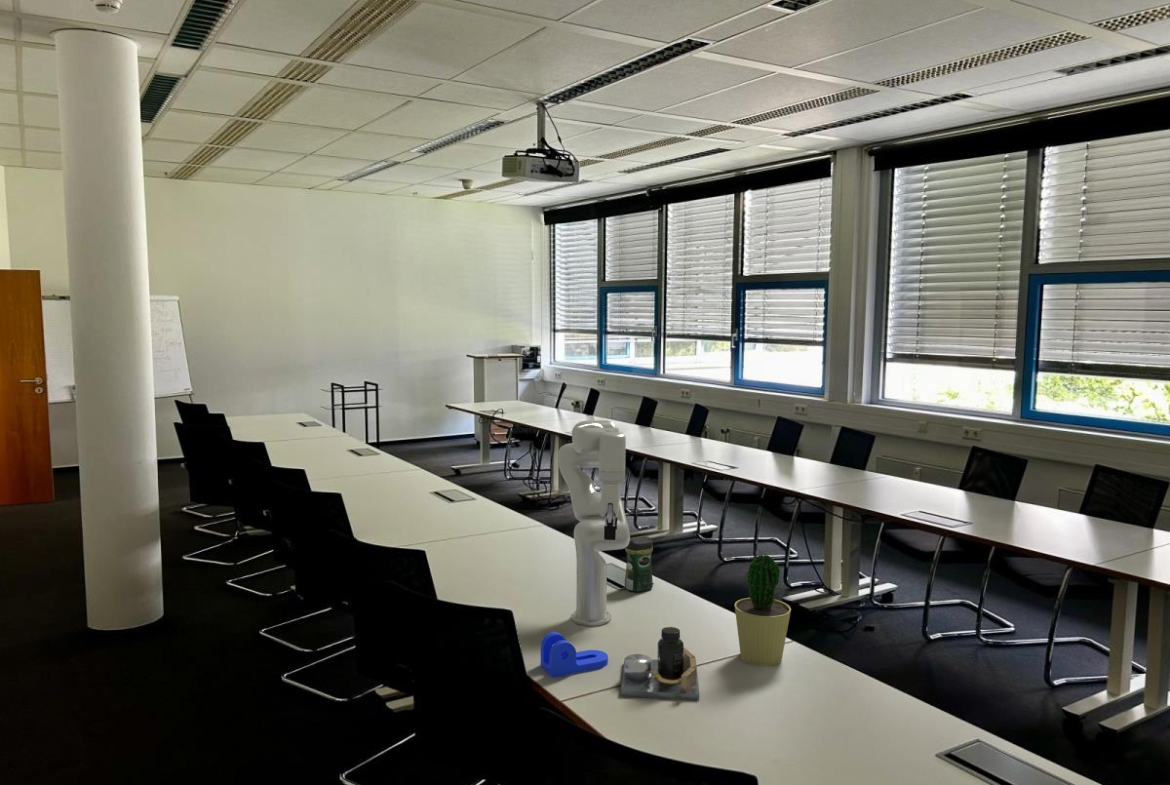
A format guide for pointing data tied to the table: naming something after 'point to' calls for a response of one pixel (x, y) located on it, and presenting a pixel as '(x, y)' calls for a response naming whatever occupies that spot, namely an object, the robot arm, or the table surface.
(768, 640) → the potted cactus
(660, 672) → the supplement bottle
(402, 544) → the table surface
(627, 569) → the coffee jar
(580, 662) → the bracket
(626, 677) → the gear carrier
